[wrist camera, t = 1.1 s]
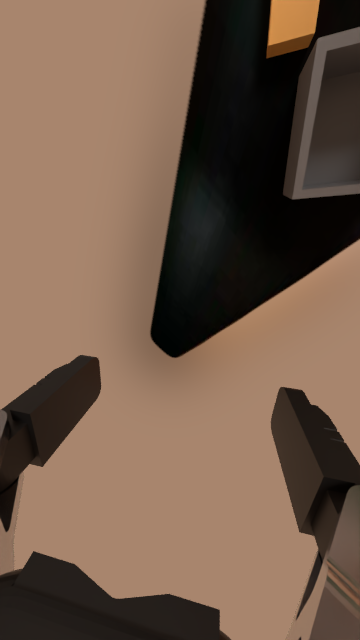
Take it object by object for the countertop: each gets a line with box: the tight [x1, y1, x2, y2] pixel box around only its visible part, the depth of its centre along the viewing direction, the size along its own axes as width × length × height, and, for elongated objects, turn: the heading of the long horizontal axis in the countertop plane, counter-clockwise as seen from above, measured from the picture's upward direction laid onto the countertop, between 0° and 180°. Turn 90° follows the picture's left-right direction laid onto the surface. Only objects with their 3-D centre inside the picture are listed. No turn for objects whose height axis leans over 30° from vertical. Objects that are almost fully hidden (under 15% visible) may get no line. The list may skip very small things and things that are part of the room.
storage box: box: [283, 27, 360, 199], centre depth 21 cm, size 11×11×8 cm
